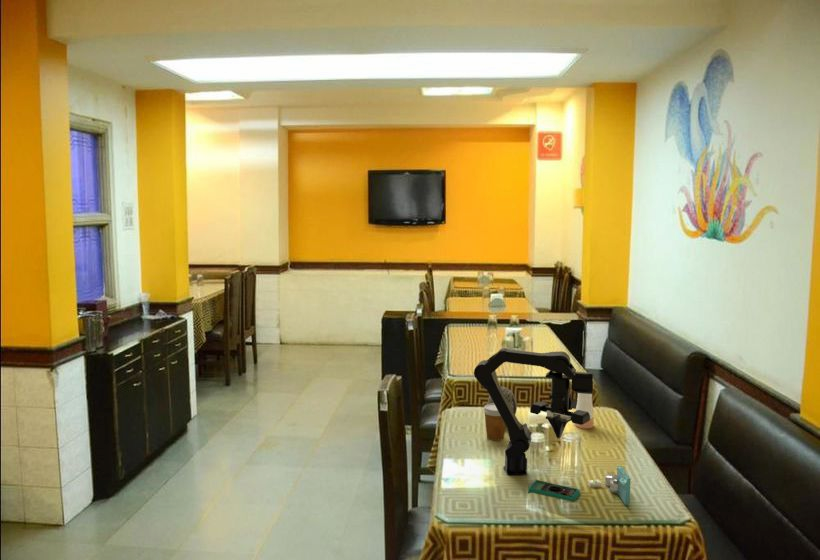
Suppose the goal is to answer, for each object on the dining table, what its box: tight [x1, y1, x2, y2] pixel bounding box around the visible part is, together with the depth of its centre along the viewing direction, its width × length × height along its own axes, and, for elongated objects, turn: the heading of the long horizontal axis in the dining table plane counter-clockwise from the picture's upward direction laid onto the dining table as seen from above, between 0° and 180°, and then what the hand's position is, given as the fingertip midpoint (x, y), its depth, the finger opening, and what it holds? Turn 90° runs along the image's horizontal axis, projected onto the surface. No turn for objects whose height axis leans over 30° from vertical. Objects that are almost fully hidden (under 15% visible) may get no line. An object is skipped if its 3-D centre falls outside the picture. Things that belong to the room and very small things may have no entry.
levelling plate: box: [587, 473, 617, 488], centre depth 201 cm, size 10×14×4 cm
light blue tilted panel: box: [609, 465, 632, 506], centre depth 198 cm, size 12×4×8 cm, turn 179°
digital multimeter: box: [527, 479, 581, 502], centre depth 202 cm, size 7×15×3 cm, turn 61°
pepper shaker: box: [574, 383, 595, 430], centre depth 262 cm, size 7×7×19 cm
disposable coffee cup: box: [482, 403, 506, 441], centre depth 250 cm, size 10×10×12 cm
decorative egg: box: [486, 385, 518, 415], centre depth 266 cm, size 12×12×15 cm
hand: (558, 437), depth 214 cm, fingers closed
